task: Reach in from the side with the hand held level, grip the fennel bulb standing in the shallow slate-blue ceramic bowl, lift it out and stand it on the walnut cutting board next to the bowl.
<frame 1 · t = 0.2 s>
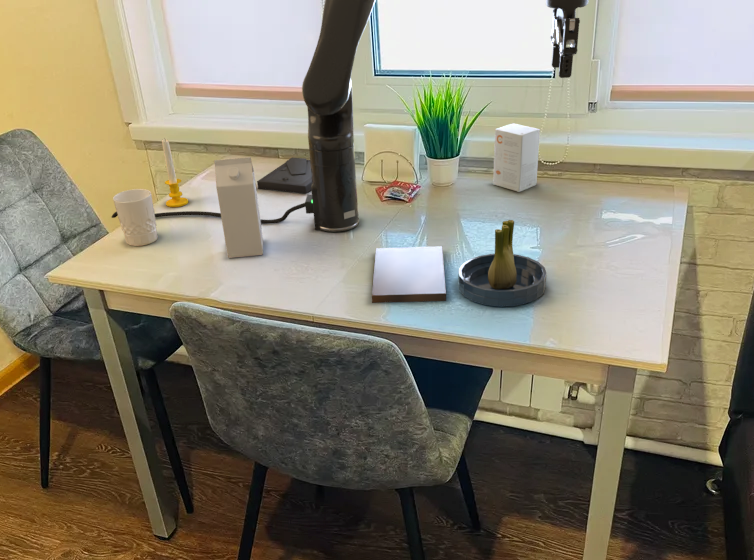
hand: (560, 72, 149), 29 cm above the table, tool pointing down, fingers open, 8 cm apart
bowl: (501, 287, 140), on the table
milk carton: (246, 250, 161), on the table
fennel bulb: (501, 287, 140), resting on bowl
white cup: (142, 240, 169), on the table
board: (409, 276, 146), on the table
candle: (177, 204, 186), on the table
small box: (514, 185, 182), on the table
picture frame: (299, 179, 195), on the table
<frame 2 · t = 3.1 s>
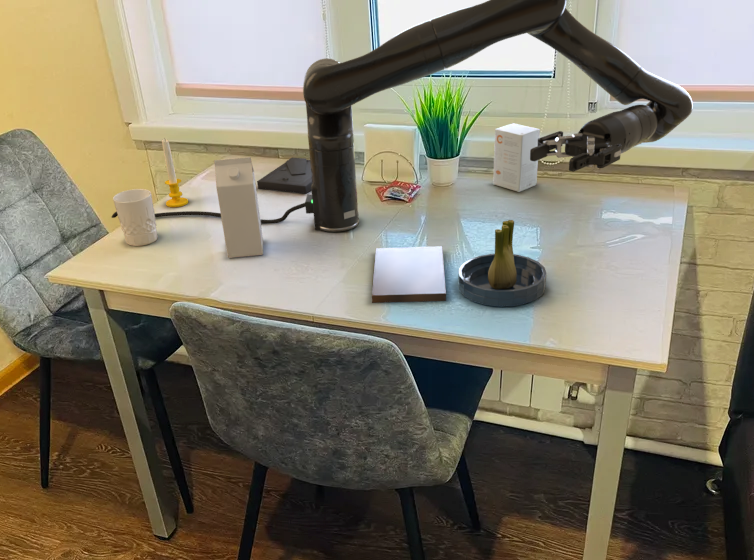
hand: (550, 160, 134), 20 cm above the table, tool horizontal, fingers open, 8 cm apart
nothing on the table moved.
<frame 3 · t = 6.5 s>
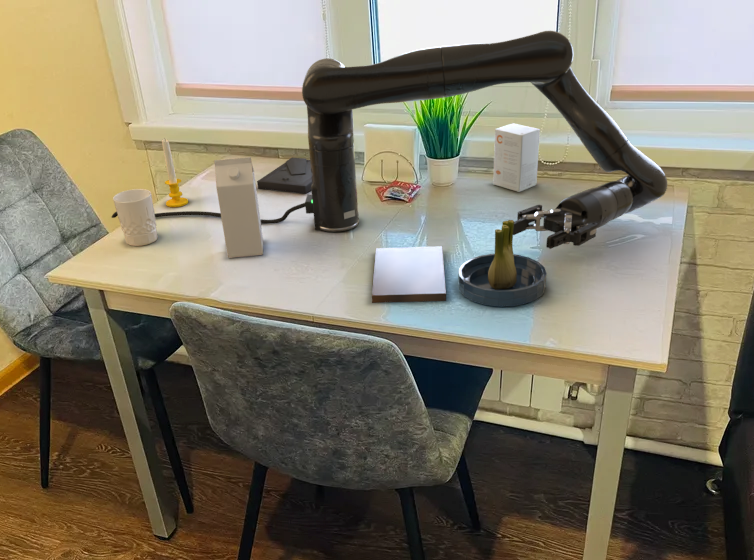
hand: (529, 236, 139), 8 cm above the table, tool horizontal, fingers open, 8 cm apart
nothing on the table moved.
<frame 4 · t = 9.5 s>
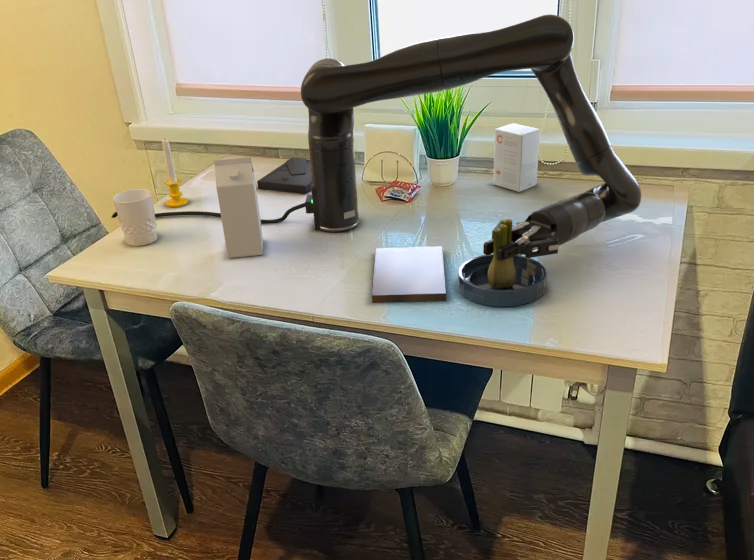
hand: (492, 252, 134), 8 cm above the table, tool horizontal, fingers closed on fennel bulb, 2 cm apart
fennel bulb: (501, 286, 140), resting on bowl, touching gripper
everything else where it was.
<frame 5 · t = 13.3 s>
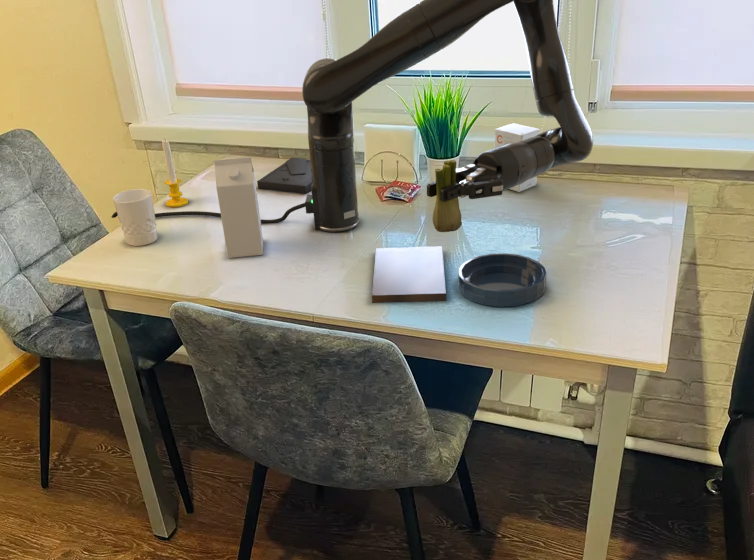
hand: (435, 193, 132), 18 cm above the table, tool horizontal, fingers closed on fennel bulb, 2 cm apart
fennel bulb: (446, 230, 138), point 10 cm above the table, touching gripper
everything else where it was.
when the fingers open (9 cm above the table, at t = 16.9 s): fennel bulb stays where it is, resting on board.
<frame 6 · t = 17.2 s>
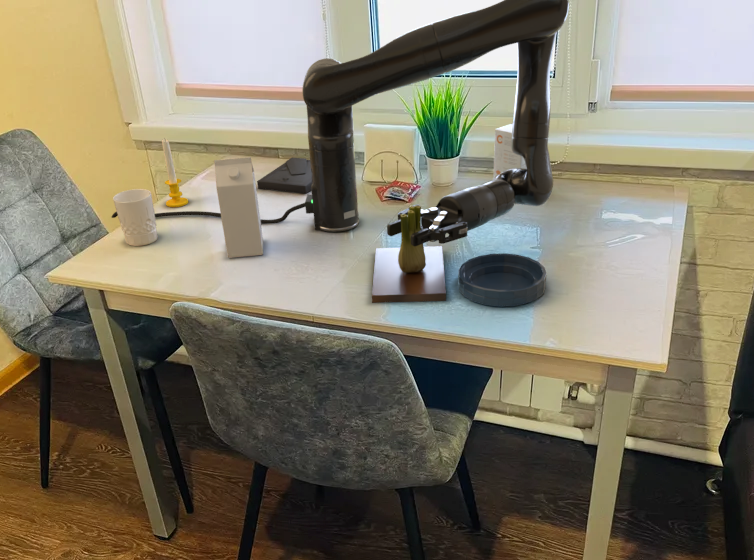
hand: (400, 235, 139), 9 cm above the table, tool horizontal, fingers open, 6 cm apart
fennel bulb: (411, 270, 145), point 1 cm above the table, touching board
everything else where it was.
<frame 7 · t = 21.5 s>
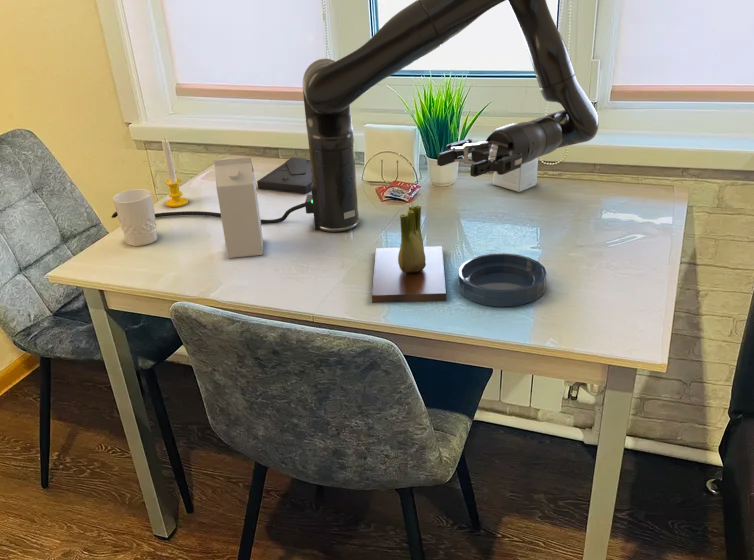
hand: (454, 165, 141), 18 cm above the table, tool horizontal, fingers open, 8 cm apart
nothing on the table moved.
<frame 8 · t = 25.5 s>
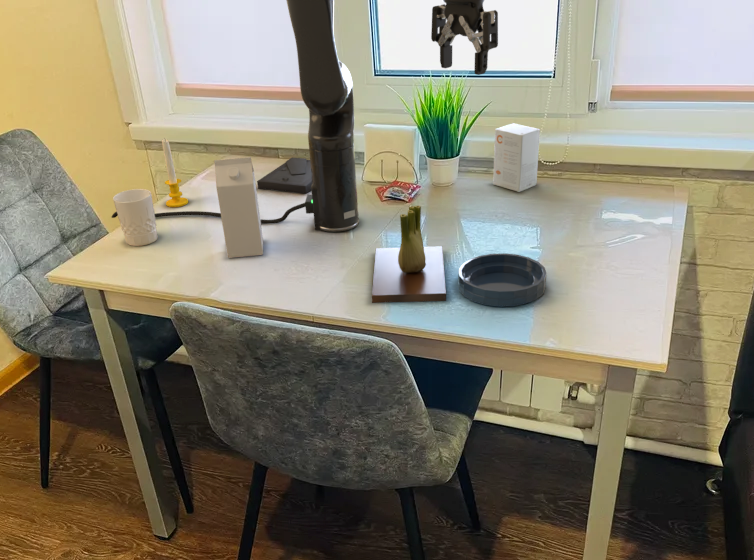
hand: (463, 70, 143), 32 cm above the table, tool pointing down, fingers open, 8 cm apart
nothing on the table moved.
at the end: fennel bulb inside the target area on the board (0.6 cm from its centre), point 1.3 cm above the board's base; fennel bulb tilted 0°; fennel bulb touching board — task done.
